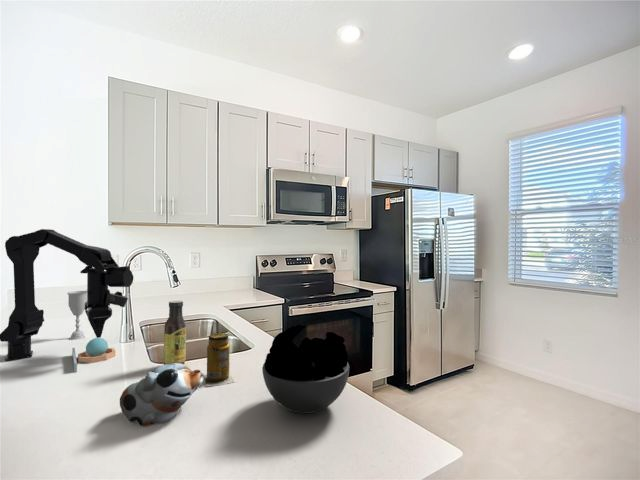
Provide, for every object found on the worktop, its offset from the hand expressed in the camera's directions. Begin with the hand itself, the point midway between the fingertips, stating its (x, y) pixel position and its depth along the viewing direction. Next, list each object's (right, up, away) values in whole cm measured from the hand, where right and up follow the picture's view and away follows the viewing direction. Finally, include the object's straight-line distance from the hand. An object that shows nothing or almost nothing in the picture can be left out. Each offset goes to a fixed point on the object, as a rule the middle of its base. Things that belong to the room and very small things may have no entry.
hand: (97, 334), depth 109 cm
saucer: (0, -8, 0) cm, 8 cm away
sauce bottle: (+29, -8, -8) cm, 31 cm away
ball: (0, -4, 0) cm, 4 cm away
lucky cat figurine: (+38, -8, -34) cm, 52 cm away
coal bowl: (+70, -8, -32) cm, 78 cm away
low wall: (-4, -8, -5) cm, 10 cm away
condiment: (+45, -8, -17) cm, 48 cm away
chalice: (-23, -8, +22) cm, 32 cm away
